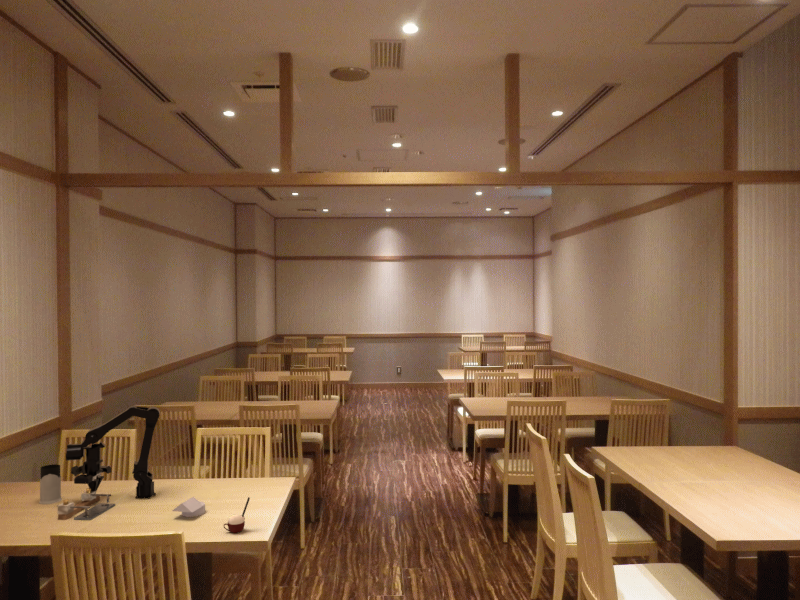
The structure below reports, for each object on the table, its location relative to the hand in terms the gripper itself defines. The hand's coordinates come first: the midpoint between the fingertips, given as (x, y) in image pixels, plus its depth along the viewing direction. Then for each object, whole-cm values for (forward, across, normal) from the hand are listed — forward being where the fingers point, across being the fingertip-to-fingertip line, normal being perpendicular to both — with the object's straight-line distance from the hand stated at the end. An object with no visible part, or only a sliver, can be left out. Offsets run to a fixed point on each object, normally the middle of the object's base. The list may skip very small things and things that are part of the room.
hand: (93, 494), depth 264 cm
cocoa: (+3, +30, +74) cm, 80 cm away
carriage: (+2, +4, +4) cm, 6 cm away
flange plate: (+3, +13, +9) cm, 16 cm away
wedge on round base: (+4, +13, +49) cm, 51 cm away
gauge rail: (+3, +10, +4) cm, 11 cm away
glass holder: (+4, -2, -21) cm, 21 cm away
